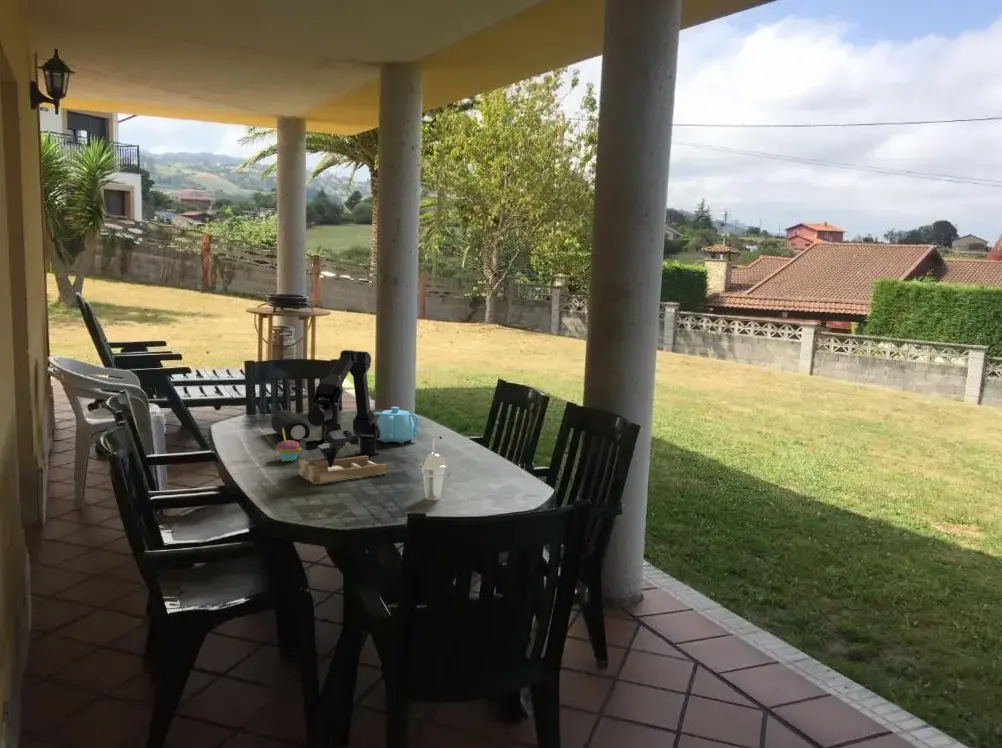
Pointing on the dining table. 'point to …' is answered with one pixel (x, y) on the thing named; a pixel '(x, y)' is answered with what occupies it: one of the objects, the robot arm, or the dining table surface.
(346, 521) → the dining table surface
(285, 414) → the portable speaker
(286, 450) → the cupcake
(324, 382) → the robot arm
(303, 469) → the board
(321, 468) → the walnut block
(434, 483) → the cup with straw
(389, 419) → the decorative pot
